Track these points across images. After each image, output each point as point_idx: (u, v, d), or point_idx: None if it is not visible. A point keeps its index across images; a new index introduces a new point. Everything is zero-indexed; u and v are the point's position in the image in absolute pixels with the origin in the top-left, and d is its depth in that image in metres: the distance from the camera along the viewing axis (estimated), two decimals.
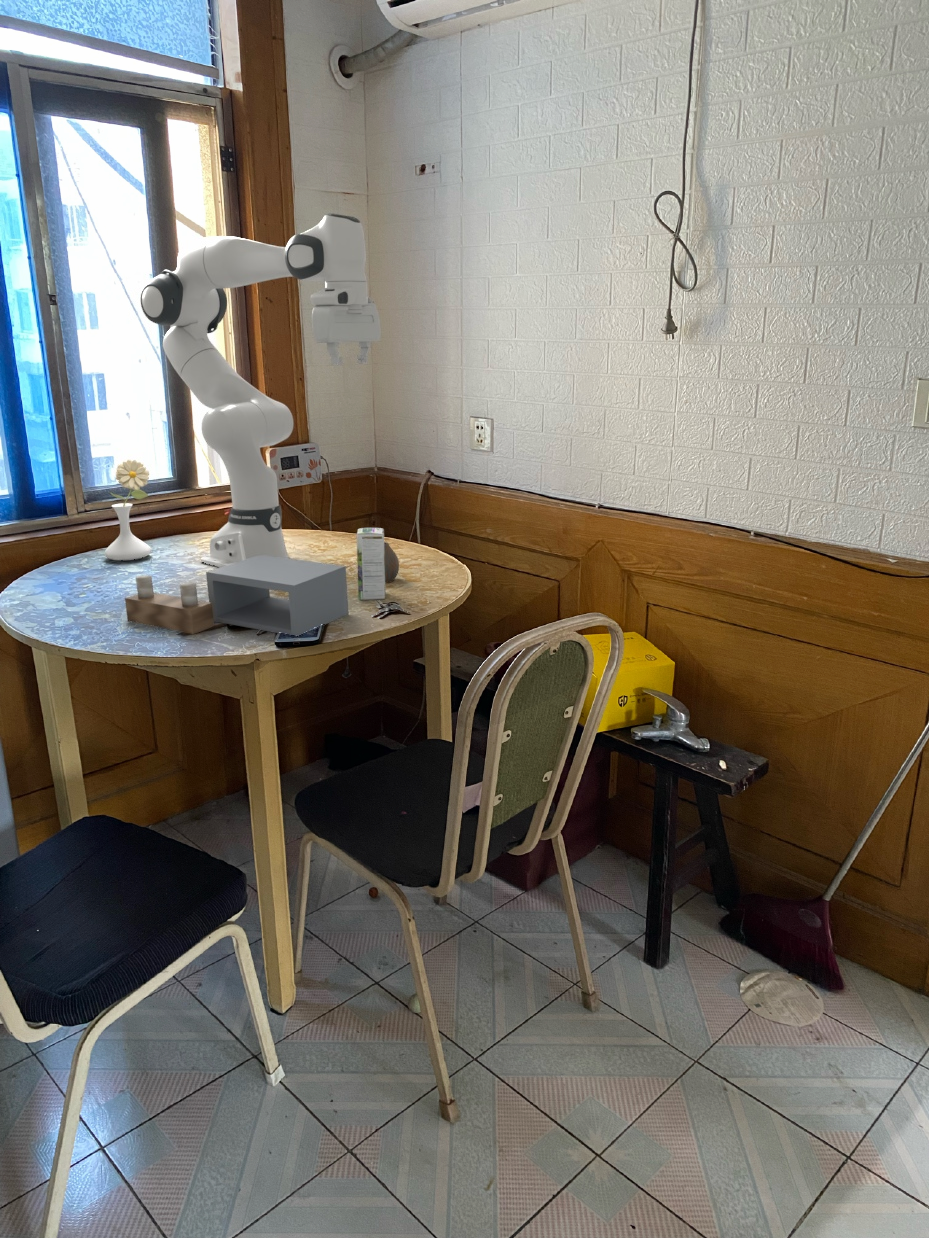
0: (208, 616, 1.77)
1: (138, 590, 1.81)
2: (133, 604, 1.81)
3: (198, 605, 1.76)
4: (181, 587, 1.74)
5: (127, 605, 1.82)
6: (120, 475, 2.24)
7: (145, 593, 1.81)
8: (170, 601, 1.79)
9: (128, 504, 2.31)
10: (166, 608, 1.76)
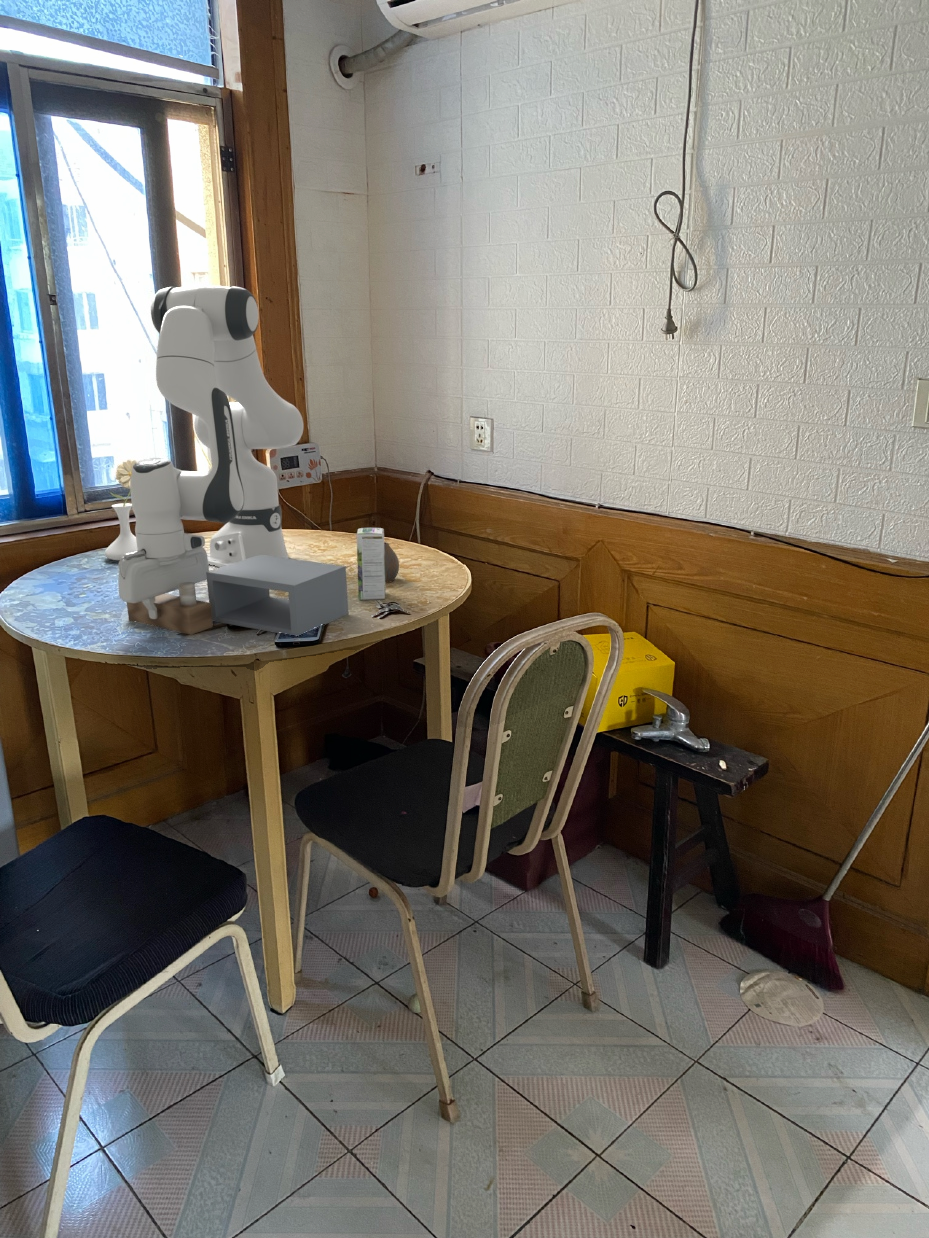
0: (206, 616, 1.77)
1: None
2: (134, 603, 1.81)
3: (196, 605, 1.75)
4: (179, 587, 1.74)
5: (128, 604, 1.82)
6: (120, 475, 2.24)
7: None
8: (169, 600, 1.79)
9: (128, 504, 2.31)
10: (165, 607, 1.76)
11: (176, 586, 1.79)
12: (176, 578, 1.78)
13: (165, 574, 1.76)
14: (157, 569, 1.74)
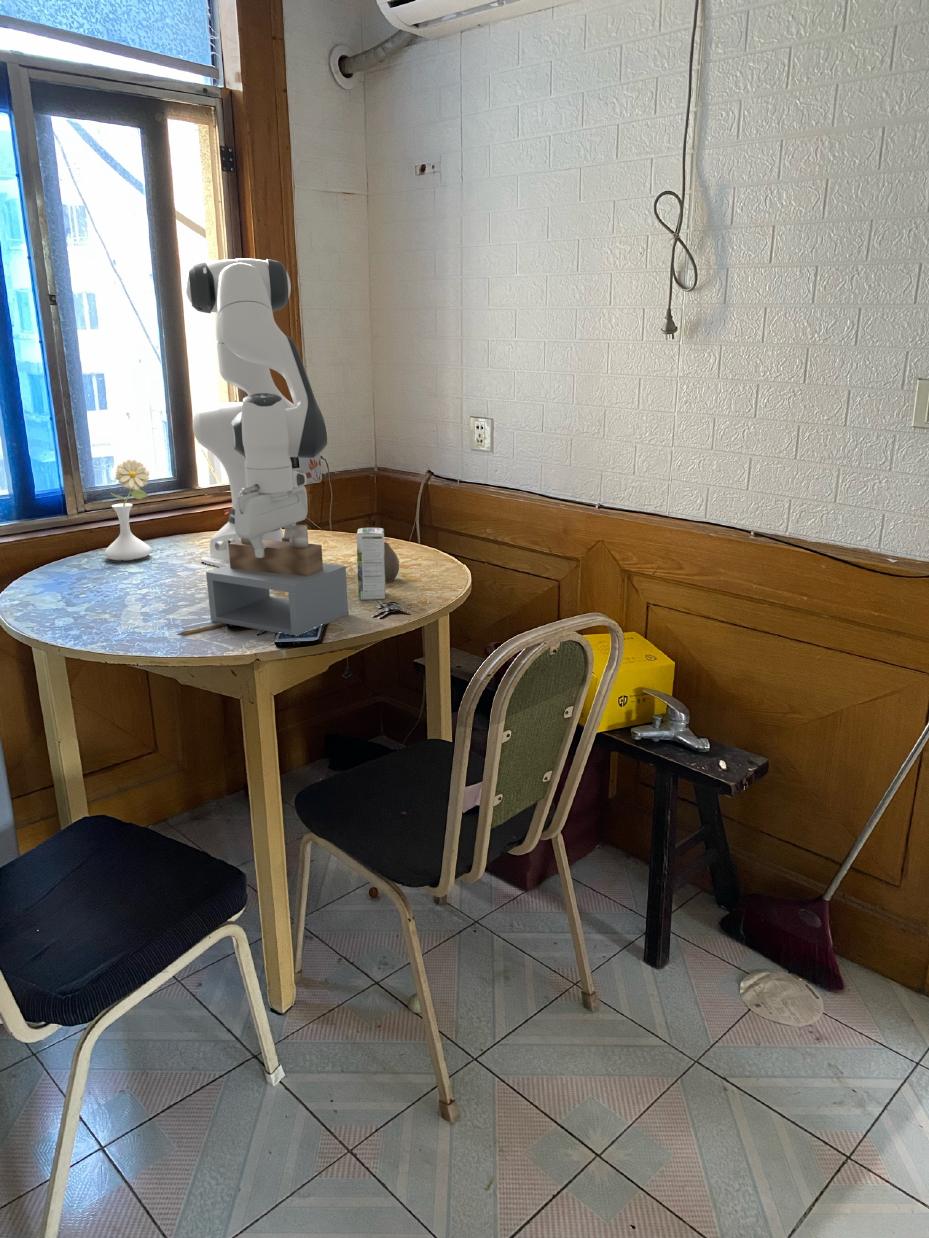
0: (319, 558, 1.78)
1: None
2: (238, 549, 1.80)
3: (310, 547, 1.76)
4: (294, 529, 1.75)
5: (231, 551, 1.80)
6: (120, 475, 2.24)
7: None
8: (277, 545, 1.79)
9: (128, 504, 2.31)
10: (277, 550, 1.76)
11: (283, 523, 1.78)
12: (283, 515, 1.78)
13: (275, 510, 1.75)
14: (269, 505, 1.73)
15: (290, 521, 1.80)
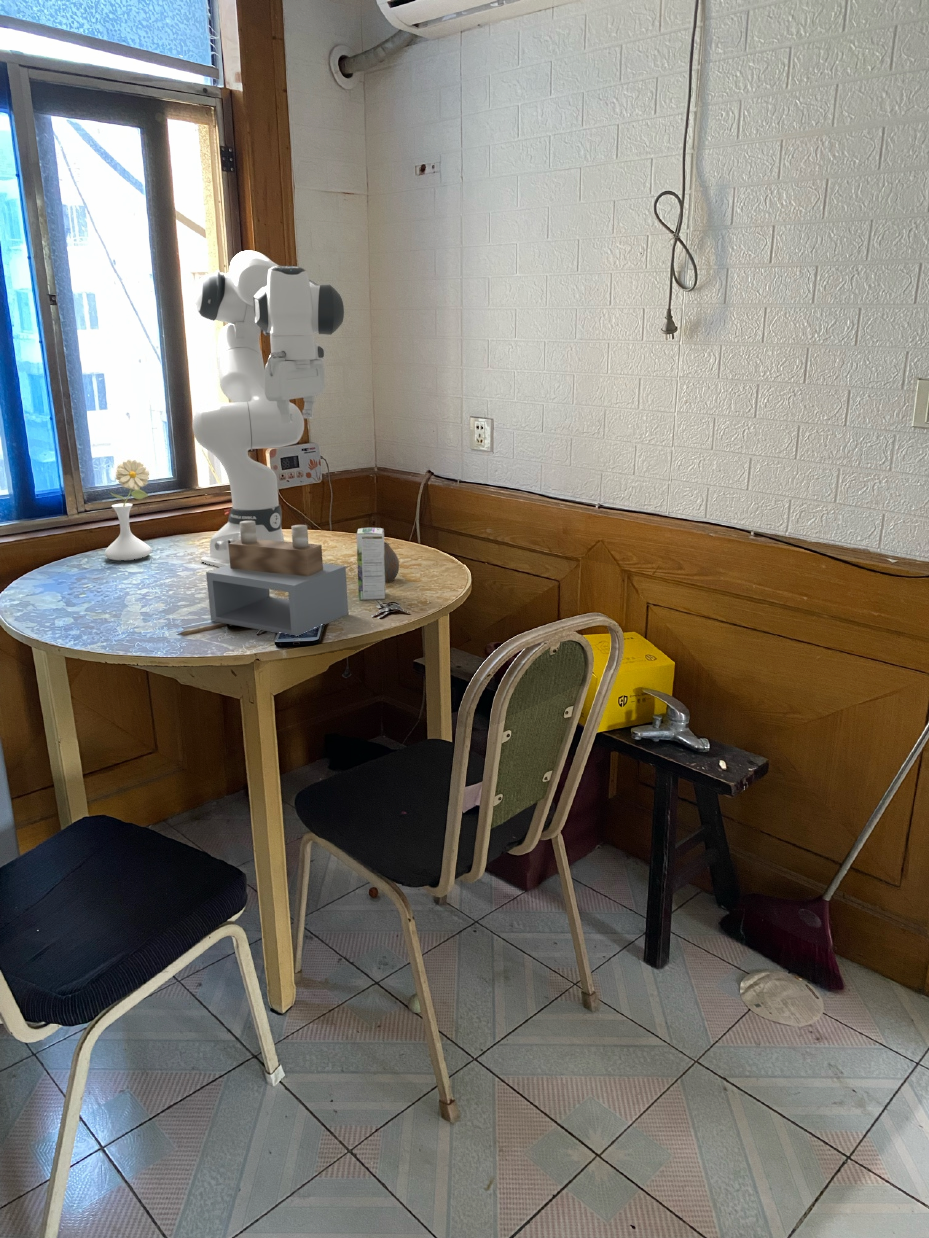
0: (319, 558, 1.78)
1: (242, 535, 1.80)
2: (238, 549, 1.80)
3: (310, 547, 1.76)
4: (294, 529, 1.75)
5: (231, 551, 1.80)
6: (120, 475, 2.24)
7: (250, 538, 1.80)
8: (277, 545, 1.79)
9: (128, 504, 2.31)
10: (277, 550, 1.76)
11: (306, 393, 1.88)
12: (306, 385, 1.88)
13: (299, 379, 1.85)
14: (294, 372, 1.83)
15: (311, 392, 1.90)
